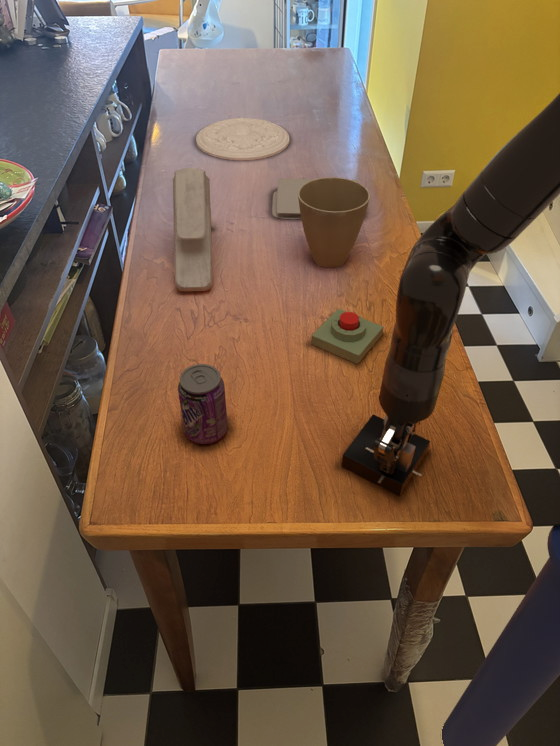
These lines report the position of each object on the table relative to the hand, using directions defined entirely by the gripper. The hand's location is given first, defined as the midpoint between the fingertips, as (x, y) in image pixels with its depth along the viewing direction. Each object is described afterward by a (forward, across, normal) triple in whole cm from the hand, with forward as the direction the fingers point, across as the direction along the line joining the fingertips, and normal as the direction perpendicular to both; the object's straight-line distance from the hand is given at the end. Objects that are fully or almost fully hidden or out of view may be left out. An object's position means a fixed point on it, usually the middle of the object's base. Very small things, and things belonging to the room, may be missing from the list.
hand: (393, 460), depth 90 cm
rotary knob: (0, 0, 0) cm, 0 cm away
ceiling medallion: (+4, +87, +92) cm, 127 cm away
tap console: (+3, +1, +1) cm, 4 cm away
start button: (0, +24, +21) cm, 32 cm away
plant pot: (+4, +46, +38) cm, 60 cm away
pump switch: (+3, +24, +21) cm, 32 cm away
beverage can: (+4, -9, +29) cm, 31 cm away
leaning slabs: (+4, +30, +63) cm, 70 cm away
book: (+4, +66, +53) cm, 85 cm away
